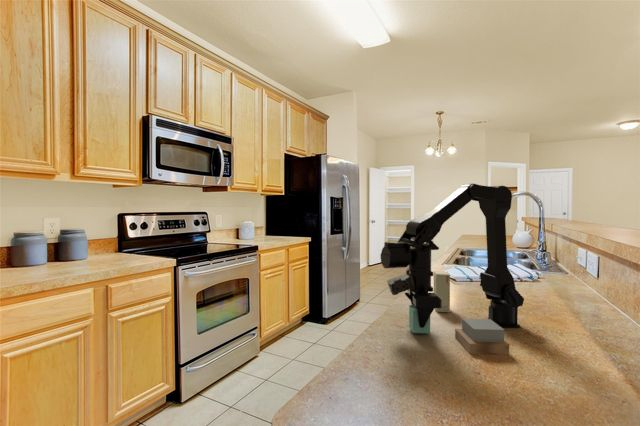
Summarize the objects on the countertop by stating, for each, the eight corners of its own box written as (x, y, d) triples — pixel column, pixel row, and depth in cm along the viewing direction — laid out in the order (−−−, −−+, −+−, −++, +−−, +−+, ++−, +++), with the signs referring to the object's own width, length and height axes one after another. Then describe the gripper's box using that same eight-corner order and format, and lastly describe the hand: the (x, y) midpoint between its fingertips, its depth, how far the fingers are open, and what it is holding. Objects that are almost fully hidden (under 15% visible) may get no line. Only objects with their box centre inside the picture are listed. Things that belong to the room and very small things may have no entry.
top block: (490, 330, 84) (490, 319, 84) (504, 342, 77) (504, 329, 77) (462, 330, 84) (462, 318, 84) (473, 341, 77) (473, 329, 77)
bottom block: (490, 340, 85) (490, 329, 85) (509, 357, 76) (509, 344, 76) (455, 340, 86) (455, 328, 85) (469, 356, 77) (469, 343, 77)
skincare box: (450, 313, 105) (450, 274, 105) (435, 312, 106) (436, 274, 105) (446, 307, 111) (447, 270, 111) (433, 306, 112) (433, 270, 112)
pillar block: (425, 326, 91) (425, 305, 91) (430, 333, 87) (430, 310, 87) (409, 326, 92) (409, 305, 91) (412, 332, 87) (413, 310, 87)
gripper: (384, 260, 98) (384, 312, 99) (395, 273, 80) (395, 337, 80) (422, 260, 98) (422, 312, 98) (442, 274, 79) (441, 338, 80)
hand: (419, 324), depth 89 cm, fingers closed on pillar block, 4 cm apart
